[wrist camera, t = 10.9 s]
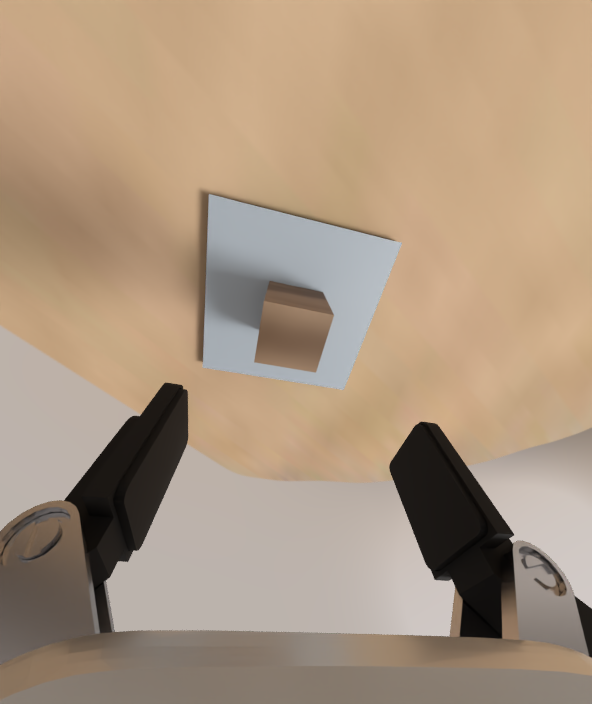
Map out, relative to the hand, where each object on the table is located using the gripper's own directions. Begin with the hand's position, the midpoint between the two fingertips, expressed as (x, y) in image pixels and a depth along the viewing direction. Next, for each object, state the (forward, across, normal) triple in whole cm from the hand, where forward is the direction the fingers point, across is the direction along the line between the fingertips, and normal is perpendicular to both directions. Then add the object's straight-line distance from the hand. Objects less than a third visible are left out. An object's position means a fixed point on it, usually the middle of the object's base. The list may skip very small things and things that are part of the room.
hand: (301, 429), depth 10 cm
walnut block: (+15, 0, +1) cm, 15 cm away
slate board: (+16, 0, +1) cm, 16 cm away
